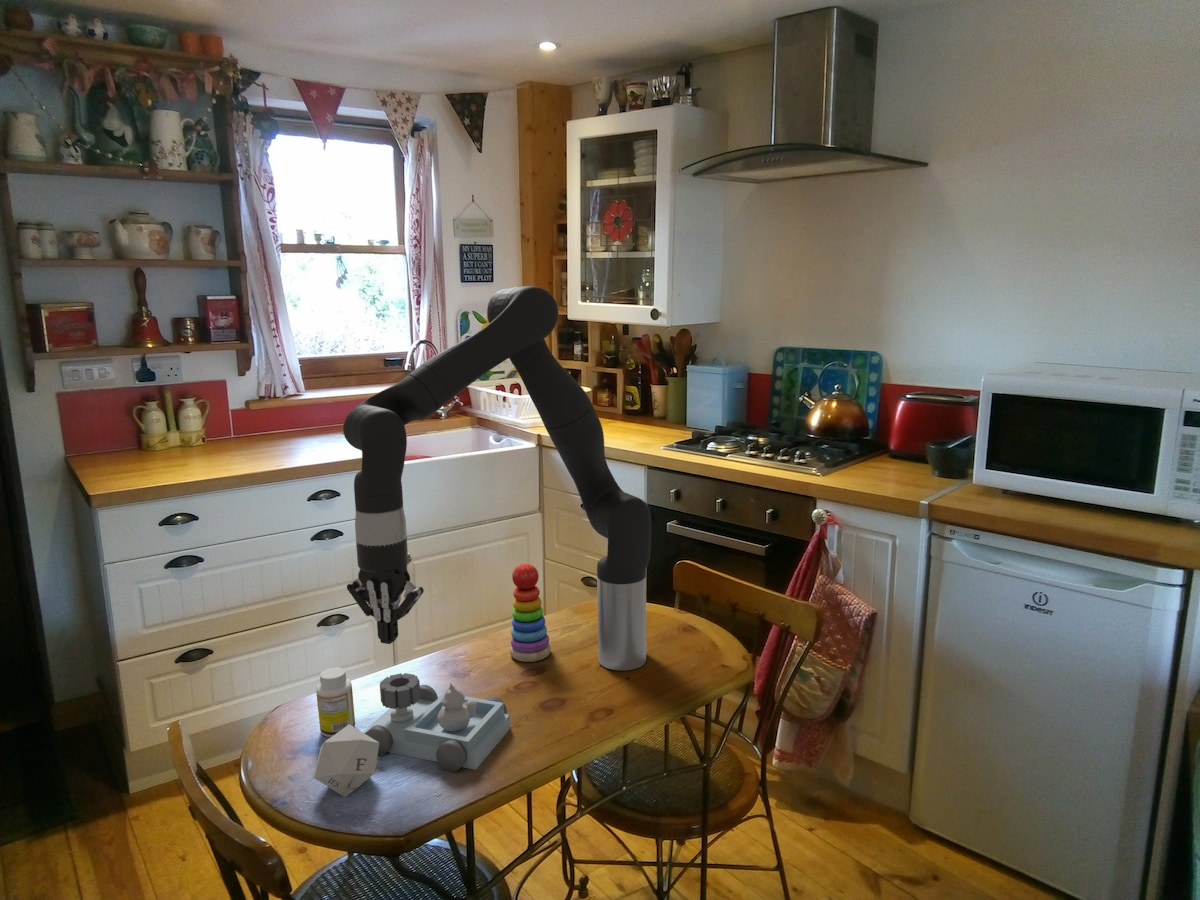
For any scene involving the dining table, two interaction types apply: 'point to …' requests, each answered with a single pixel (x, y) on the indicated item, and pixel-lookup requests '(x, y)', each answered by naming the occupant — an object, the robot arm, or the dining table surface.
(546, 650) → the stacking toy
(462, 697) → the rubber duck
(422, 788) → the dining table surface
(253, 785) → the dining table surface
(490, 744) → the chassis
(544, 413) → the robot arm
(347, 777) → the die
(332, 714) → the supplement bottle
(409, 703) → the spare wheel
